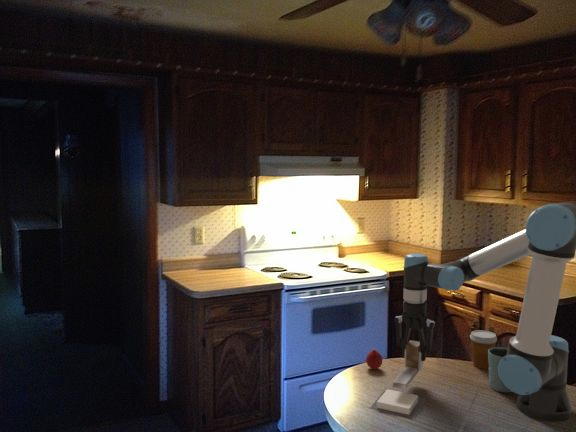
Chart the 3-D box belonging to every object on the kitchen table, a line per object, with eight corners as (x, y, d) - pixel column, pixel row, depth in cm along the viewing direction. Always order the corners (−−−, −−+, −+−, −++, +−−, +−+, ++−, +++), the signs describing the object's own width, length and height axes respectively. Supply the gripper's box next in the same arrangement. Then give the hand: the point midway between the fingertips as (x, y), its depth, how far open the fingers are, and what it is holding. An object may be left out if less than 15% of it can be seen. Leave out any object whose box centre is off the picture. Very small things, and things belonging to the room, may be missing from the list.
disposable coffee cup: (469, 369, 200) (470, 337, 199) (467, 359, 209) (468, 329, 208) (497, 371, 198) (499, 339, 196) (494, 361, 207) (495, 330, 206)
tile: (418, 395, 173) (409, 408, 164) (418, 402, 173) (409, 415, 165) (387, 389, 178) (377, 401, 169) (387, 395, 178) (376, 408, 169)
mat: (426, 400, 175) (426, 399, 175) (415, 419, 163) (415, 418, 163) (384, 391, 182) (384, 390, 182) (369, 409, 169) (369, 408, 169)
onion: (383, 367, 202) (383, 346, 201) (381, 373, 196) (381, 352, 195) (367, 366, 203) (367, 345, 203) (364, 372, 198) (365, 350, 197)
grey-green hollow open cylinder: (481, 386, 186) (482, 351, 184) (496, 378, 192) (497, 344, 191) (510, 396, 178) (511, 360, 177) (524, 387, 185) (526, 352, 183)
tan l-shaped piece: (421, 367, 187) (421, 342, 186) (405, 389, 171) (405, 360, 170) (409, 365, 189) (410, 340, 188) (392, 386, 173) (393, 358, 172)
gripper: (443, 300, 183) (441, 369, 185) (393, 295, 191) (392, 360, 193) (438, 306, 176) (436, 377, 179) (386, 300, 184) (385, 367, 187)
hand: (413, 368), depth 186 cm, fingers closed on tan l-shaped piece, 4 cm apart
